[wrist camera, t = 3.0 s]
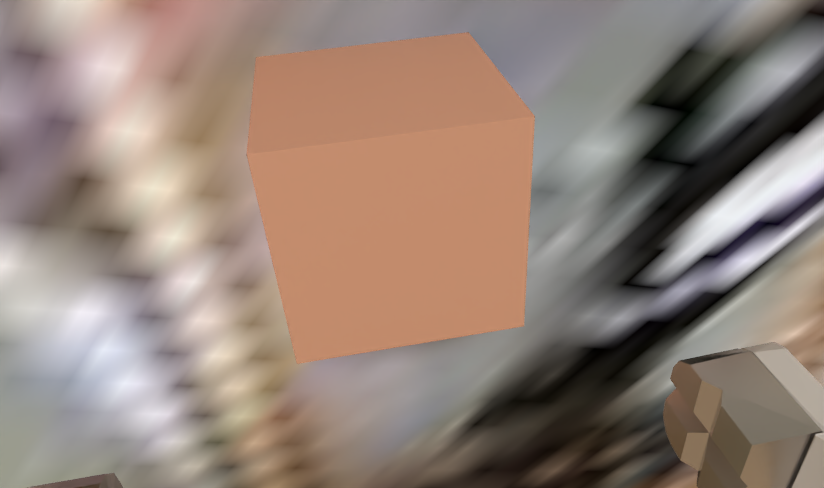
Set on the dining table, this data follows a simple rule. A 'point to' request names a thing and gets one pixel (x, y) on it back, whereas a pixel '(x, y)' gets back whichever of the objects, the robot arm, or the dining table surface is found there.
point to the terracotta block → (392, 192)
